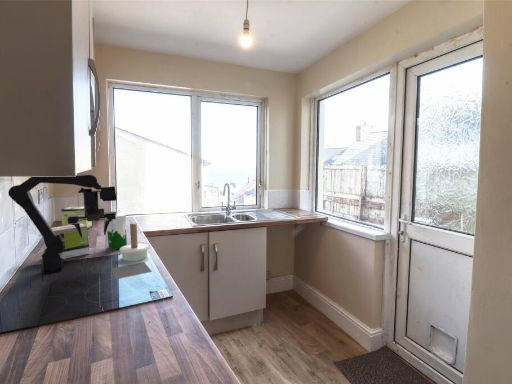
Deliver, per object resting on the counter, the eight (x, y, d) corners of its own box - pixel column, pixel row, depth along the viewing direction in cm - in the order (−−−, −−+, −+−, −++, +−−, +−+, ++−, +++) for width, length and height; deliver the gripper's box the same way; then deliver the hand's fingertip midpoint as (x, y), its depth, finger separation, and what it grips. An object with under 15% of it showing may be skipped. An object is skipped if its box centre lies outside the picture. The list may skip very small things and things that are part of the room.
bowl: (124, 263, 132) (124, 253, 132) (120, 257, 141) (120, 248, 141) (149, 258, 138) (149, 249, 138) (144, 253, 148) (143, 244, 147)
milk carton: (106, 247, 157) (104, 211, 155) (122, 244, 164) (121, 209, 162) (112, 251, 151) (110, 213, 149) (129, 247, 158) (127, 211, 156)
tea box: (84, 250, 153) (82, 222, 152) (89, 254, 146) (88, 225, 144) (50, 256, 143) (48, 227, 141) (54, 261, 135) (52, 230, 134)
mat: (115, 280, 113) (115, 279, 113) (110, 269, 125) (110, 268, 125) (152, 272, 121) (152, 271, 121) (144, 263, 133) (144, 262, 133)
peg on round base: (133, 254, 131) (131, 227, 130) (113, 250, 136) (112, 225, 135) (154, 247, 142) (153, 222, 141) (135, 243, 148) (134, 220, 147)
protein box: (87, 230, 198) (86, 208, 196) (62, 231, 194) (60, 209, 193) (92, 227, 208) (91, 206, 206) (68, 228, 204) (66, 206, 203)
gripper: (66, 206, 117) (69, 243, 119) (116, 202, 128) (118, 236, 129) (66, 203, 126) (68, 237, 128) (112, 200, 137) (114, 232, 138)
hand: (93, 236), depth 131 cm, fingers open, 9 cm apart
